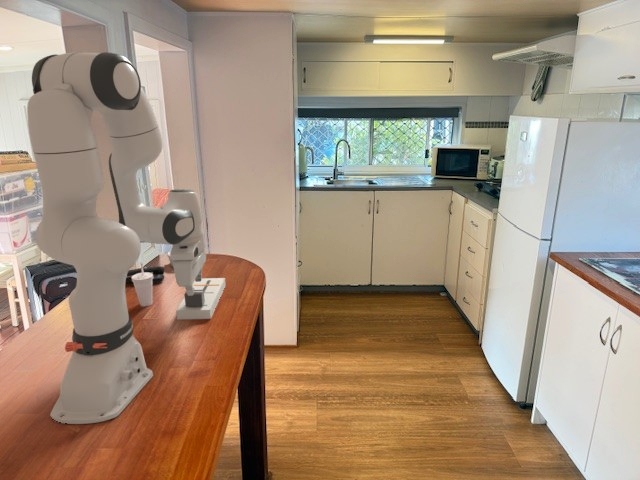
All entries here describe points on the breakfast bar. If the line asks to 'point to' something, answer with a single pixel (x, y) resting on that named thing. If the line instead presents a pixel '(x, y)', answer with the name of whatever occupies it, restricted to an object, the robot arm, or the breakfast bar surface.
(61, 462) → the breakfast bar surface
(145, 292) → the smoothie
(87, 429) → the breakfast bar surface
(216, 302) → the fader console
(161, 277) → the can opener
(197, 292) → the fader knob
